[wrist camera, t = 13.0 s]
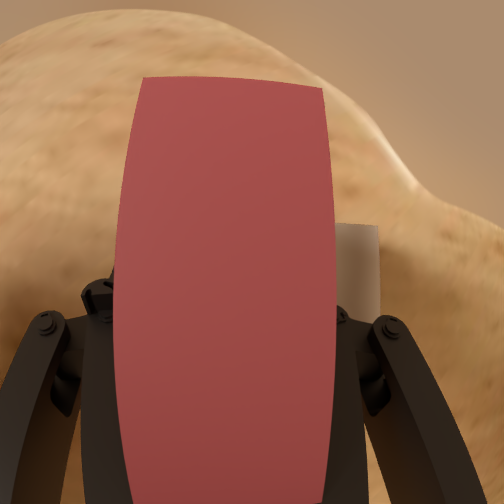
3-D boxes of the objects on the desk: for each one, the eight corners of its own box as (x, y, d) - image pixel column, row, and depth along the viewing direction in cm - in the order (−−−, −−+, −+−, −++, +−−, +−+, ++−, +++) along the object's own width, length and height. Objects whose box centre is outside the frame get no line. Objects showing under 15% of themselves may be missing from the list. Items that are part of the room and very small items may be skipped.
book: (185, 369, 17) (138, 523, 4) (188, 229, 19) (143, 77, 5) (243, 370, 18) (318, 518, 4) (244, 231, 19) (322, 88, 5)
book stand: (136, 363, 20) (106, 391, 13) (139, 225, 21) (111, 195, 14) (350, 360, 22) (400, 381, 15) (350, 233, 23) (399, 210, 17)
